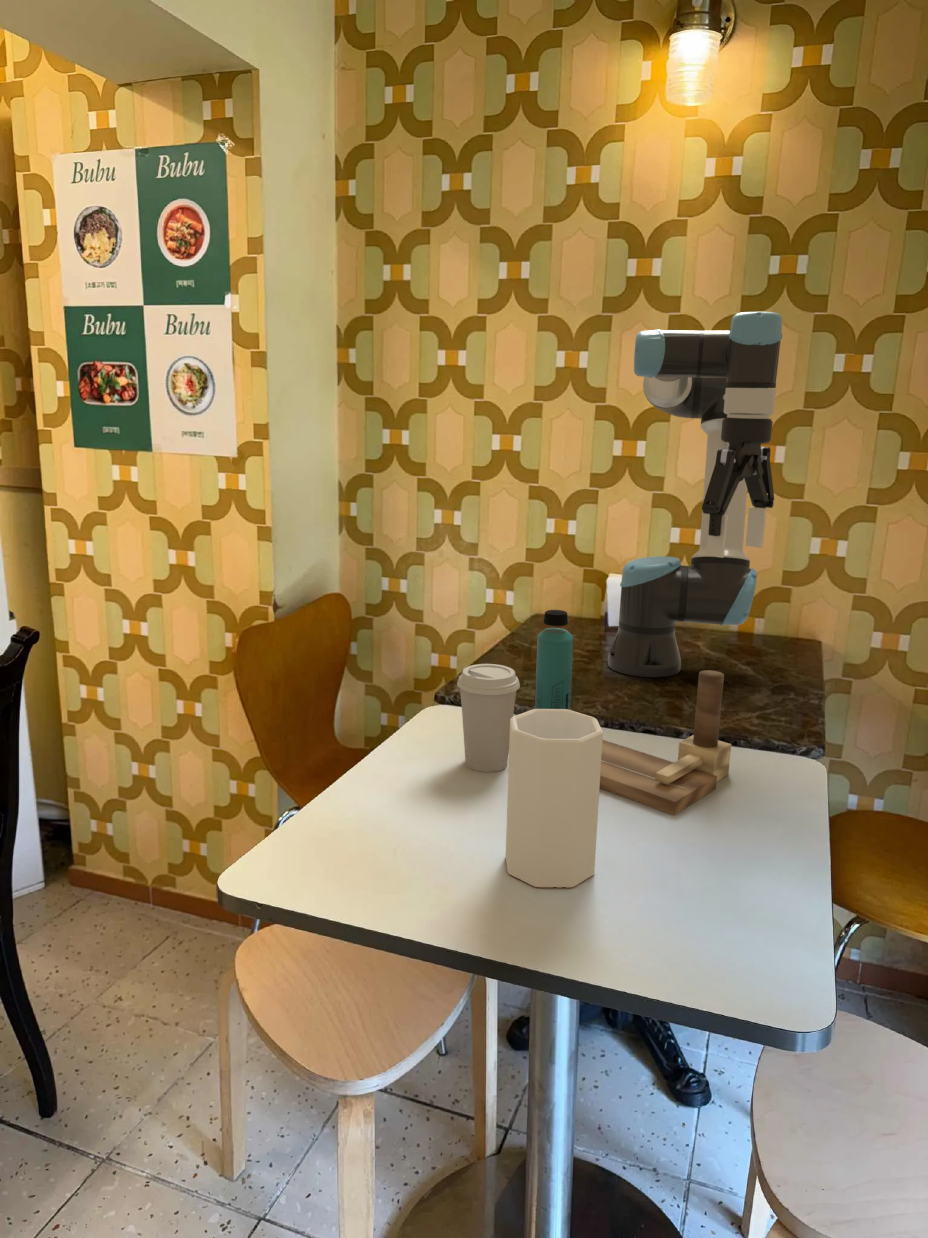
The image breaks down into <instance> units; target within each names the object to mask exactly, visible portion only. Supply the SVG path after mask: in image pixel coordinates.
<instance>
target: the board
mask: <svg viewBox="0 0 928 1238" xmlns="http://www.w3.org/2000/svg"><path fill="white" fill-rule="evenodd" d="M674 762H675V761H671V760H667V759H664V758H661V757H658V756H655V755H653V754H652V755H651V754H649V753H646V752H643V751H640V750H636V749H633V748H630V747H628V746H624V745H621V744H617V743H614V742H612V741H608V740H605V739H602V755H601V771H600V788H599V790H600V789H601V790H603V791H606V792H610V793H612V794H614V795H618V796H620V797H623V798H626V799H628V800H631V801H634V802H637V803H640V804H642V805H645V806H648V807H650V808H653V809H656V810H659V811H662V812H664V813H668V814H670V815H672V816H675V815H677V814H679V813H680V812H681V811H683V810H685V809H686V808H688V807H690V806H691V805H693V804H694V803H697V801H699V800H701V799H702V798H704V797H705V796H707V795H708V794H710V793H711V792H713V791H715V790H716V789H717V783H718V782H717V776H715V775H712V774H709V773H705V772H702V771H699V770H696V769H693V770H692V771H690V772H688V773H687V774H685V775H683V776H681V777H680V778H678V779H676V780H675V781H673V782H671V783H669V784H668V785H667V784H664V783H661V782H658V781H655V775H656V772H658V771H660V770H661V769H663V768H665V767H667V766H669V765H670V764H672V763H674Z"/></svg>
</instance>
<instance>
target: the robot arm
mask: <svg viewBox="0 0 928 1238" xmlns="http://www.w3.org/2000/svg"><path fill="white" fill-rule="evenodd" d="M730 322H731V323H730V330H677V329H675V330H671V329H669V330H666V329H665V330H664V329H657V328H656V329H653V330H652V329H650V330H641V331H639V332H638V333H637V334H636V335H635V340H634V341H635V343H634V356H633V373H634V375H636V376H637V377H642V378H643V381H642V387H643V388H642V389H643V393H644V396H645V398H646V400H647V401H648V402H649V403H650V404H651V405H652V406H653V407H655V408H656V409H657V410H659V411H662V412H664V413H666V414H668V415H671V416H674V417H676V418H677V417H678V418H685V419H700V429H701V430H702V431H703V432H704V433H705V434H706V436H707V441H706V452H705V455H706V456H705V469H704V482H703V498H702V506H701V510H702V511H701V526H700V538H699V540H700V541H699V549H698V550H697V551H696V553H694V554H693V555H692V556H691V558H690V560H691V561H690V565H681V564H682V562H681V560H680V558H678V557H677V556H668V555H667V556H663V555H659V556H657V555H656V556H648V557H641V558H637V559H633V560H631V561H628V562H626V564H625V565H623V568H622V574H621V582H620V585H619V586H620V589H621V590H620V599H619V600H620V603H619V615H618V630H617V632H616V635H615V637H614V639H613V643H612V645H611V647H610V650H609V651H608V656H607V665H608V667H609V669H611V670H613V671H615V672H617V673H621V674H624V675H628V676H633V677H641V678H664V677H670V676H674V675H676V674H678V673H679V672H680V671H681V667H682V657H681V655H680V650H679V646H678V642H677V638H676V622H682V623H691V624H692V623H693V624H695V623H696V624H705V625H706V624H709V625H719V626H739V625H743V624H744V623H745V622H746V621H747V620H748V617H749V615H750V611H751V610H752V605H753V599H754V596H755V590H756V586H757V579H758V578H757V577H758V571H757V570H756V569H754V568H752V567H751V568H750V566H751V565H750V564H751V560H750V558H749V557H748V556H747V555H746V554H745V552H744V541H745V547H751V548H752V547H753V548H758V549H762V548H763V546H764V537H765V528H766V518H767V508H769V509H773V507H774V501H775V493H774V484H773V477H772V475H773V474H772V469H771V468H772V466H771V447H770V446H762V444H768V443H770V442H771V440H772V432H773V431H772V430H773V421H772V419H771V418H770V416H773V415H774V413H775V407H776V406H775V405H776V392H777V376H778V370H779V369H778V368H779V367H778V366H779V358H780V349H781V341H782V339H783V333H782V332H783V331H782V326H783V318H782V316H781V315H780V313H777V312H774V311H773V312H772V311H744V312H737V313H736V314H734V315H733V316H732V318H731V321H730ZM747 495H749V498H750V502H751V504H752V506H749V507H748V514H747V515H748V516H747V525H746V524H745V523H746V512H747V497H748V496H747ZM745 525H746V526H747V527H745ZM745 528H746V534H745ZM745 535H746V536H745ZM744 539H745V540H744Z"/></svg>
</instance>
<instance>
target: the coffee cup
mask: <svg viewBox="0 0 928 1238" xmlns="http://www.w3.org/2000/svg"><path fill="white" fill-rule="evenodd" d="M456 685H457V687H458V688H459V691H460V701H461V716H462V727H463V728H462V730H463V732H462V733H463V746H464V758H465V759H464V761H465V762H464V763H465V766H466V767H467V768H469V769H470V770H472V771H476V772H481V773H495V772H500V771H502V770H504V769H506V768H507V766H508V764H509V739H510V719H511V718H512V717H514V714H515V705H516V695H517V690H519V689H520V687H521V684H520V680H519V678H518V676H517V675H516V671H515V670H514V669H513V668H511V667H510V666H509V667H508V666H506V665H502V664H498V663H497V664H495V663H494V664H493V663H479V664H478V663H477V664H472V665H469V666H468V665H467V667H464V668H463V670H462V673H461V674H460V675H459V677H458V679H457V683H456Z"/></svg>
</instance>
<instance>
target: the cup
mask: <svg viewBox="0 0 928 1238" xmlns="http://www.w3.org/2000/svg"><path fill="white" fill-rule="evenodd" d="M603 734H604V731H603V730H602V728H601V725H600V723H599V720H598V719H597V718H596V717H594V716H591V715H588V714H584V713H582V712H581V713H580V712H577V711H574V710H572V709H571V710H568V709H535V708H532V709H530V710H528V711H524V712H522V713H519V714H516V715H513V717H512V718H511V719H510V739H509V754H508V770H507V771H508V774H507V777H508V778H507V805H506V828H505V829H506V834H505V838H506V839H505V861H506V870H507V873H508V874H509V875H510V876H513V877H515V878H517V880H518V879H519V880H520V881H522V882H524V883H526V884H529V885H530V886H532V887H535V888H553V887H557V888H562V887H566V888H568V889H569V888H574V887H576V886H577V885H579V884H580V883H582V882H583V881H585V880H587V879H589V878H590V877H592V876H594V874H595V867H596V853H597V851H596V850H597V835H598V820H599V819H598V818H599V803H600V802H599V801H600V800H599V799H600V771H601V755H602V740H603V737H604V736H603Z"/></svg>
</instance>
